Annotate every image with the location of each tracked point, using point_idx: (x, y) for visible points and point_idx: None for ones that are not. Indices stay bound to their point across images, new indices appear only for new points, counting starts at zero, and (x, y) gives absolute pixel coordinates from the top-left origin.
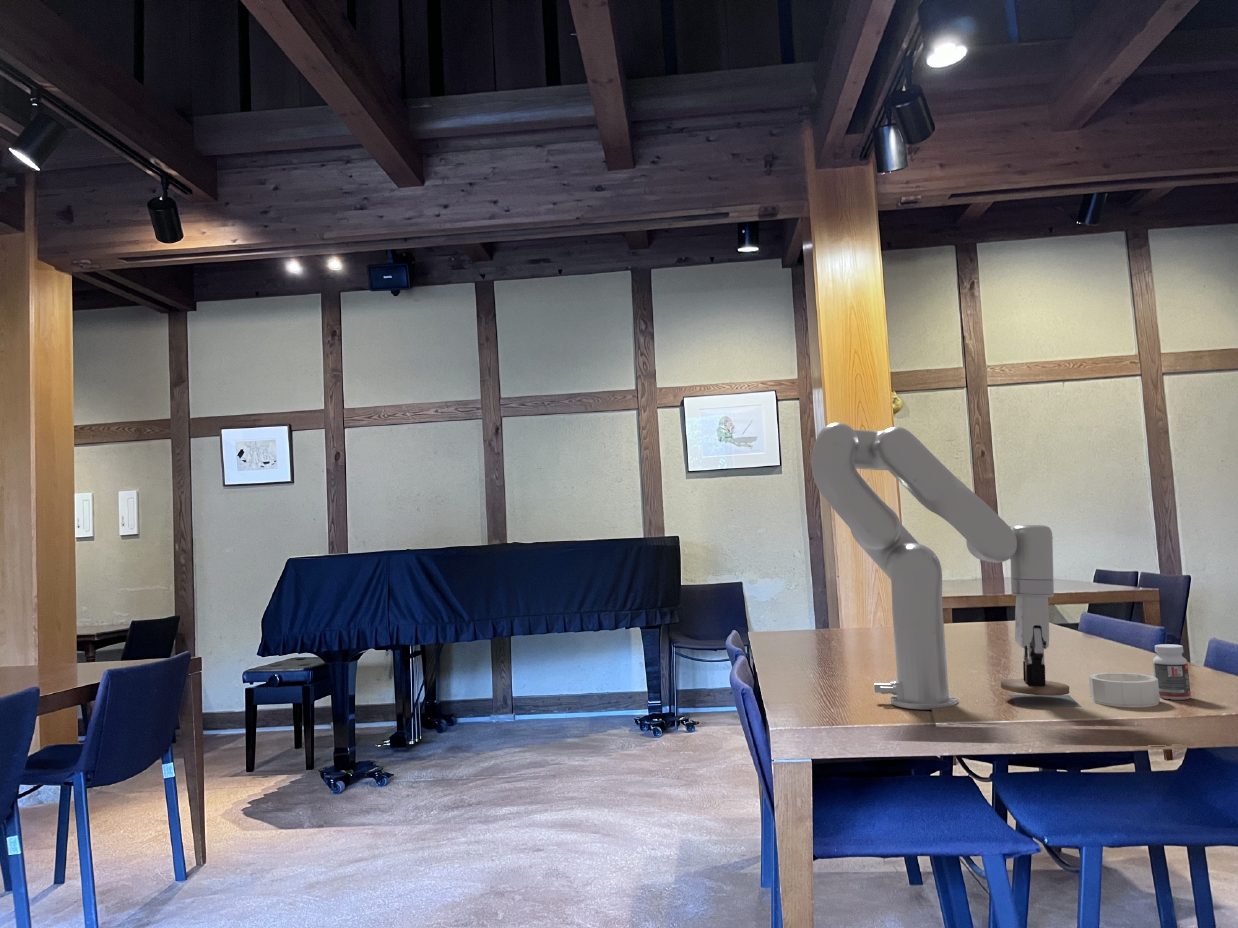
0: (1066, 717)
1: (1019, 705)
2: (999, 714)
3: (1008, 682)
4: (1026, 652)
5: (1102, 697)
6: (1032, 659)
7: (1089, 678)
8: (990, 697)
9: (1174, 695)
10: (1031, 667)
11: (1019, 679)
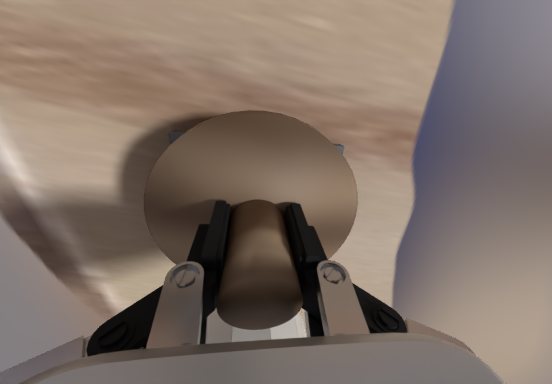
0: (83, 223)
1: (174, 141)
2: (55, 46)
3: (271, 145)
4: (320, 308)
5: (212, 312)
6: (143, 302)
7: (264, 336)
8: (357, 89)
9: None
10: (200, 260)
11: (343, 195)
